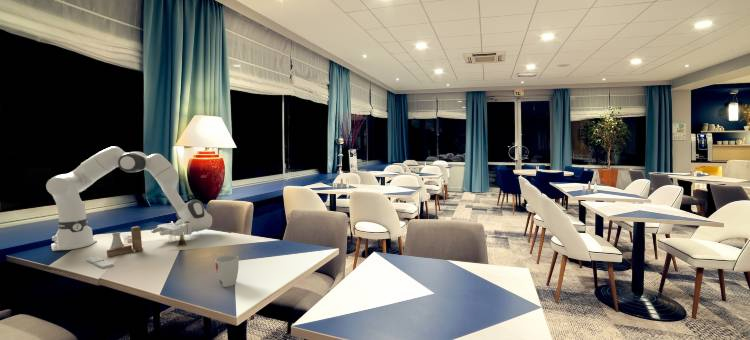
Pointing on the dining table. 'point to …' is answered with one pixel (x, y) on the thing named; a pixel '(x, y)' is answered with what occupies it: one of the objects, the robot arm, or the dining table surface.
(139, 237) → the brown wooden l-shaped piece
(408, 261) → the dining table surface
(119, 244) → the flask
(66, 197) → the robot arm
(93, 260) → the broken grey strip
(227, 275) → the cup
